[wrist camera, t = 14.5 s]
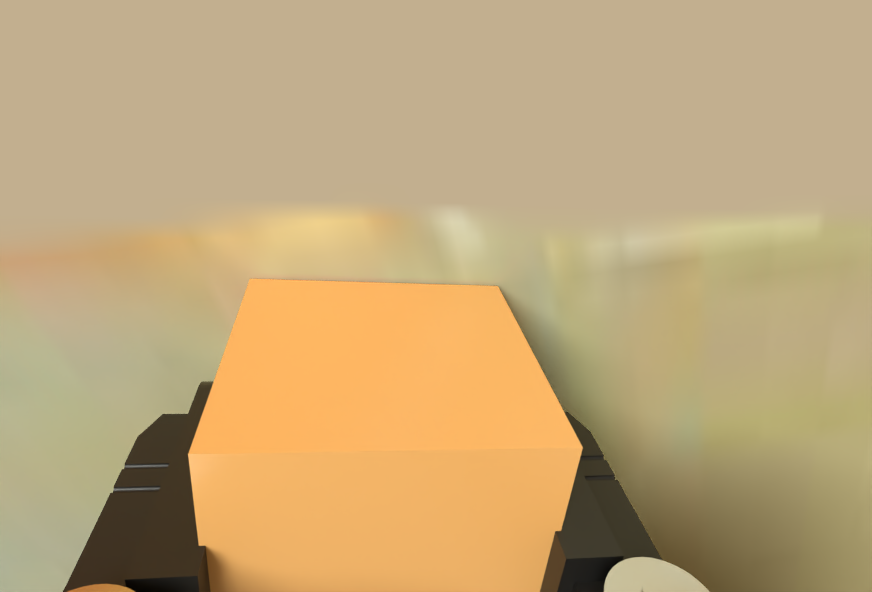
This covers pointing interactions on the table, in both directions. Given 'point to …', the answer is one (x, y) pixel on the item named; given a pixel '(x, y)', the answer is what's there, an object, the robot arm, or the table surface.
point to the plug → (379, 444)
